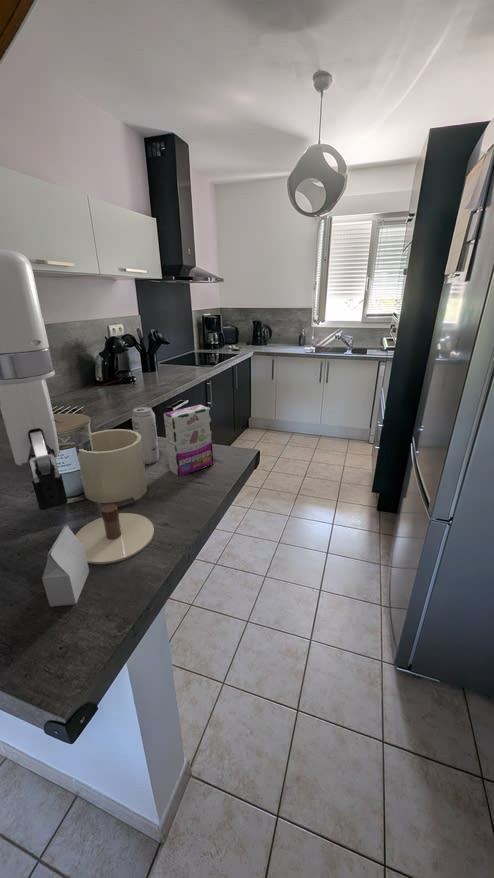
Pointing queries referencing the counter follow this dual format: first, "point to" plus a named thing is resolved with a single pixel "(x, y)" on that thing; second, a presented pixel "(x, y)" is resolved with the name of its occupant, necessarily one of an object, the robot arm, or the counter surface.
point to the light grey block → (65, 569)
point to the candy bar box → (189, 439)
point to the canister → (113, 467)
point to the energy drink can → (146, 432)
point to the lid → (115, 536)
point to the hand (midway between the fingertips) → (49, 490)
